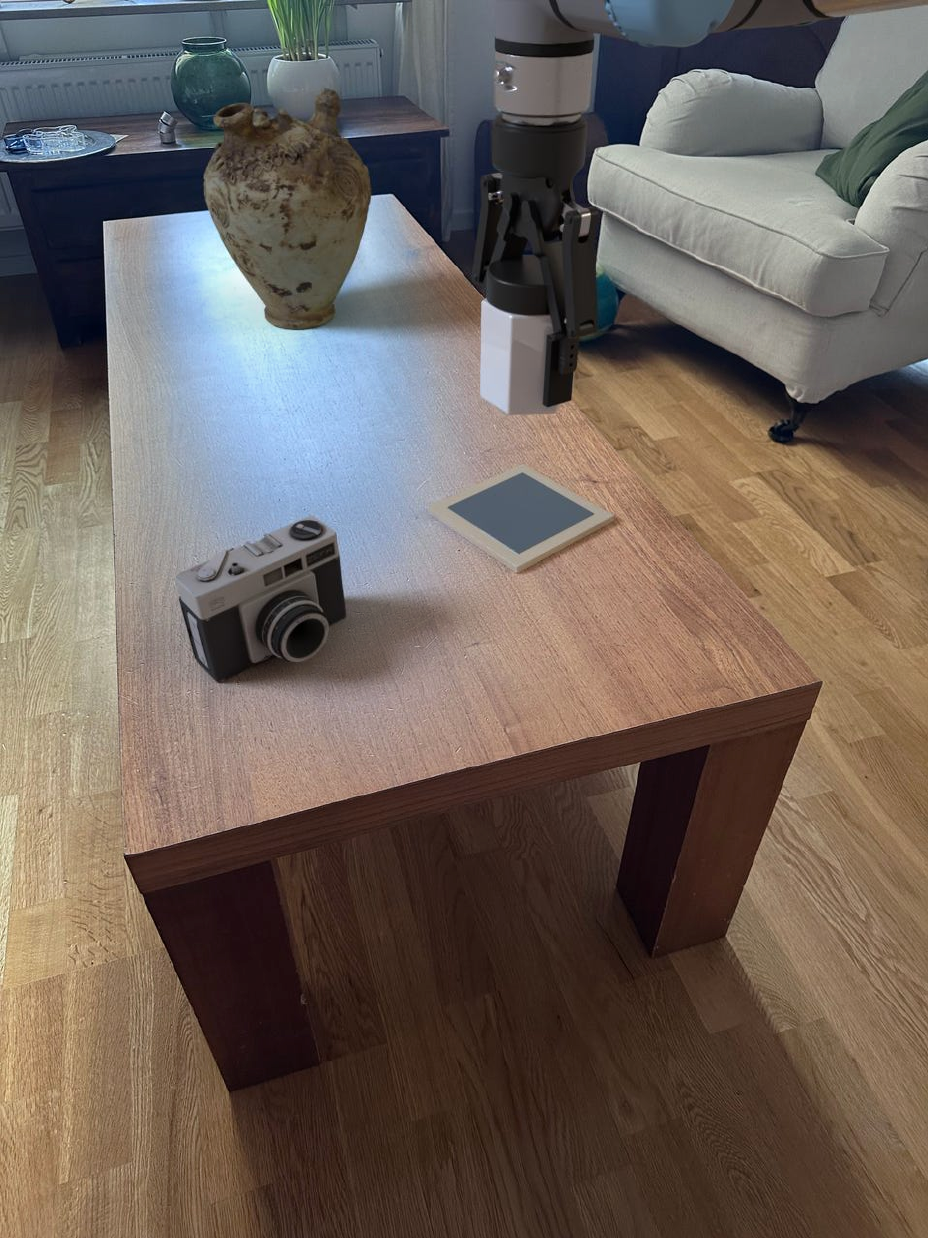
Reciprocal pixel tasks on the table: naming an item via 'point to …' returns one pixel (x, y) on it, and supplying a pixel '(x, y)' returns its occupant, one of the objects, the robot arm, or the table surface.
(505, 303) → the jar
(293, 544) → the camera
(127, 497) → the table surface
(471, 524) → the tile
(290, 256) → the vase
